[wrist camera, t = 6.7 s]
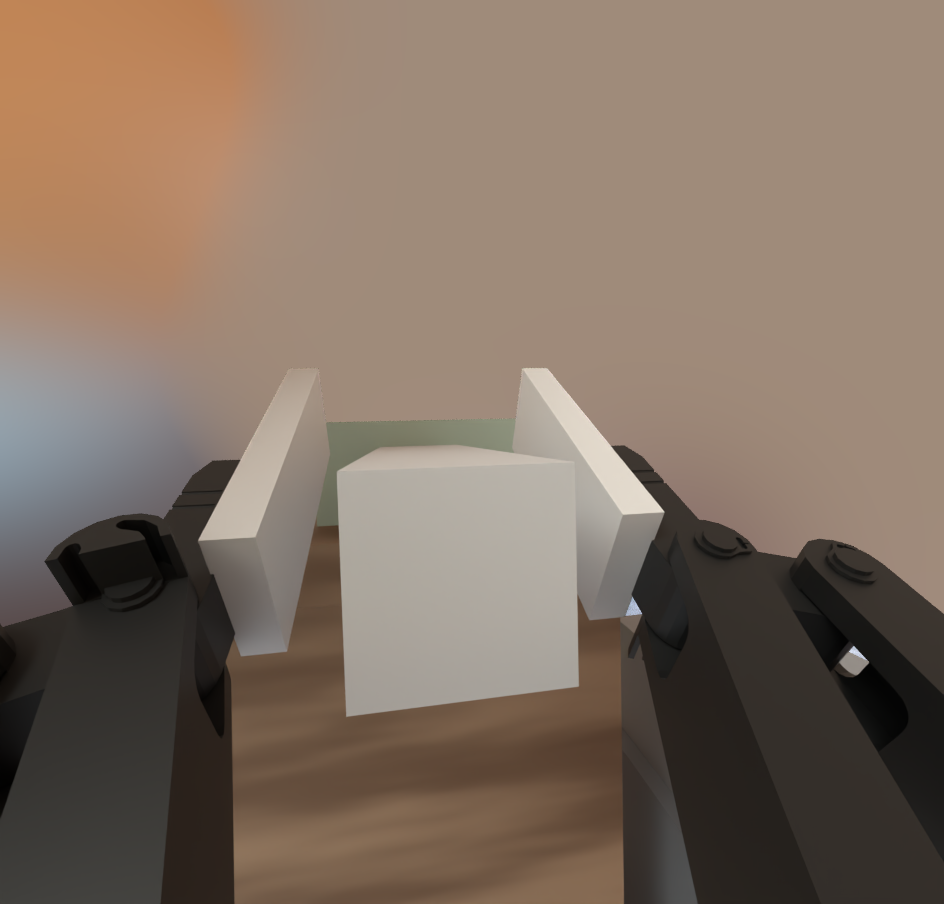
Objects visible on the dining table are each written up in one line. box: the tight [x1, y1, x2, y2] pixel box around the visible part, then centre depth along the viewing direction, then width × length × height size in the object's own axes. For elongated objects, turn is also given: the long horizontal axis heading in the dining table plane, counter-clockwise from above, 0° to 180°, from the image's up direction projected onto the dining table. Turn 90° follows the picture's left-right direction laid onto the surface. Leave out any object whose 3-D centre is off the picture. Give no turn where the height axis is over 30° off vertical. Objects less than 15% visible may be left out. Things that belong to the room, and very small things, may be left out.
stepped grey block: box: [620, 614, 869, 904], centre depth 25 cm, size 12×12×21 cm
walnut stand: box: [226, 516, 624, 904], centre depth 22 cm, size 14×20×30 cm
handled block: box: [317, 419, 579, 717], centre depth 15 cm, size 20×8×4 cm, turn 10°
